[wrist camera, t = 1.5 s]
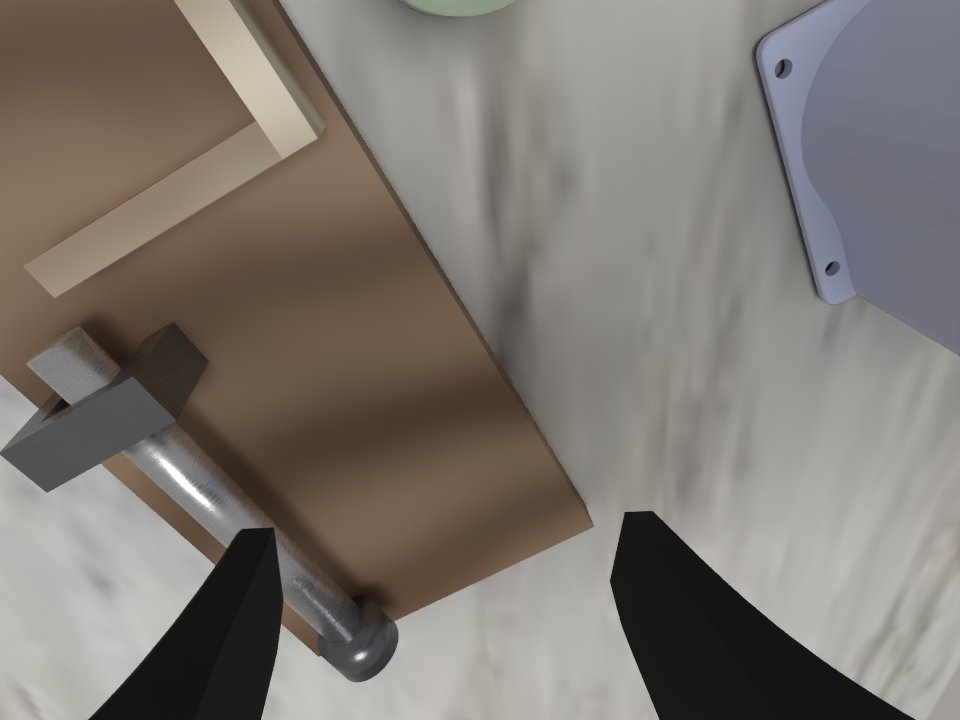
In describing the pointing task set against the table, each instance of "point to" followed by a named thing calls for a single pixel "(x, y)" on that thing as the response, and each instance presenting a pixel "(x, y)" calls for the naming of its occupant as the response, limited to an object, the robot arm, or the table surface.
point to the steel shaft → (230, 514)
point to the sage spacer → (456, 6)
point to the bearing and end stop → (109, 412)
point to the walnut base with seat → (262, 292)
